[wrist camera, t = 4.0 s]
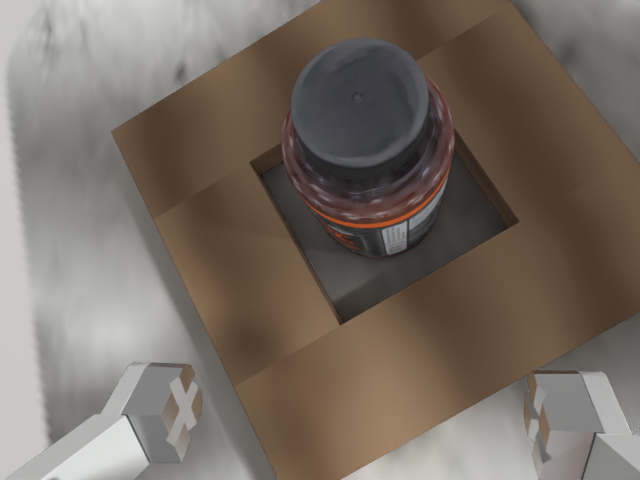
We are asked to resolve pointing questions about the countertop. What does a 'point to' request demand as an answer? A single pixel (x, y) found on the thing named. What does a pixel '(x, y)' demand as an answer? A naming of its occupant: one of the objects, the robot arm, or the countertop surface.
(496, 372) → the holder block
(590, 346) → the countertop surface
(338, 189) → the supplement bottle
